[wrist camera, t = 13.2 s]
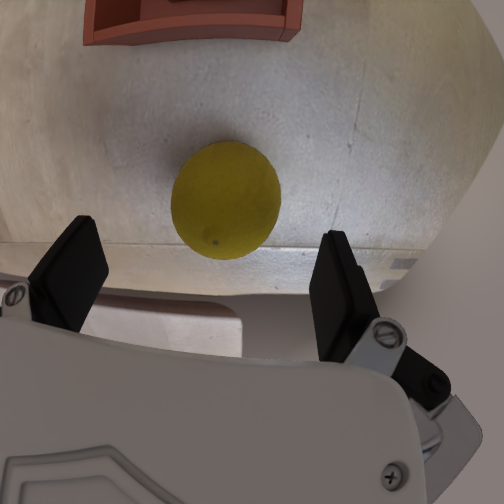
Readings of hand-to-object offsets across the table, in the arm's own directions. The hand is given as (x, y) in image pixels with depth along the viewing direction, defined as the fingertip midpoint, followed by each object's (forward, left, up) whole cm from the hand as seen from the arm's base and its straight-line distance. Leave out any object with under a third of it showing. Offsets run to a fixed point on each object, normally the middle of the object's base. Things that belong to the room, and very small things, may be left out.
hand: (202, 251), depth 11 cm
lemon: (0, 0, -9) cm, 9 cm away
